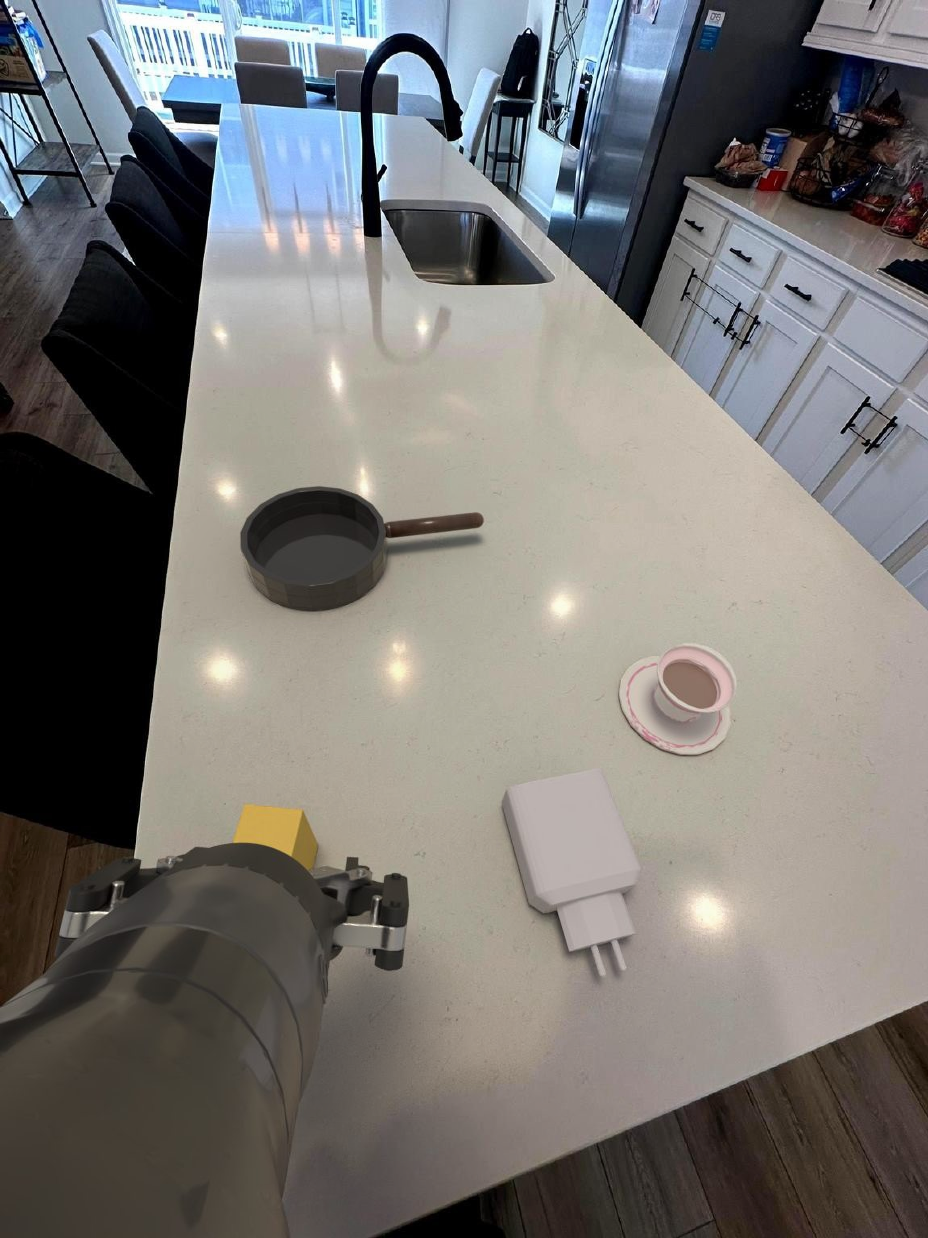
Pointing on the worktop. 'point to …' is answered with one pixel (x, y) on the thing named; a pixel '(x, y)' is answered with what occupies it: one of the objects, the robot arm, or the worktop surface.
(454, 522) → the pan handle
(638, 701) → the teacup
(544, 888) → the charger
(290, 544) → the pan
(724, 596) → the worktop surface
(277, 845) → the cheese
